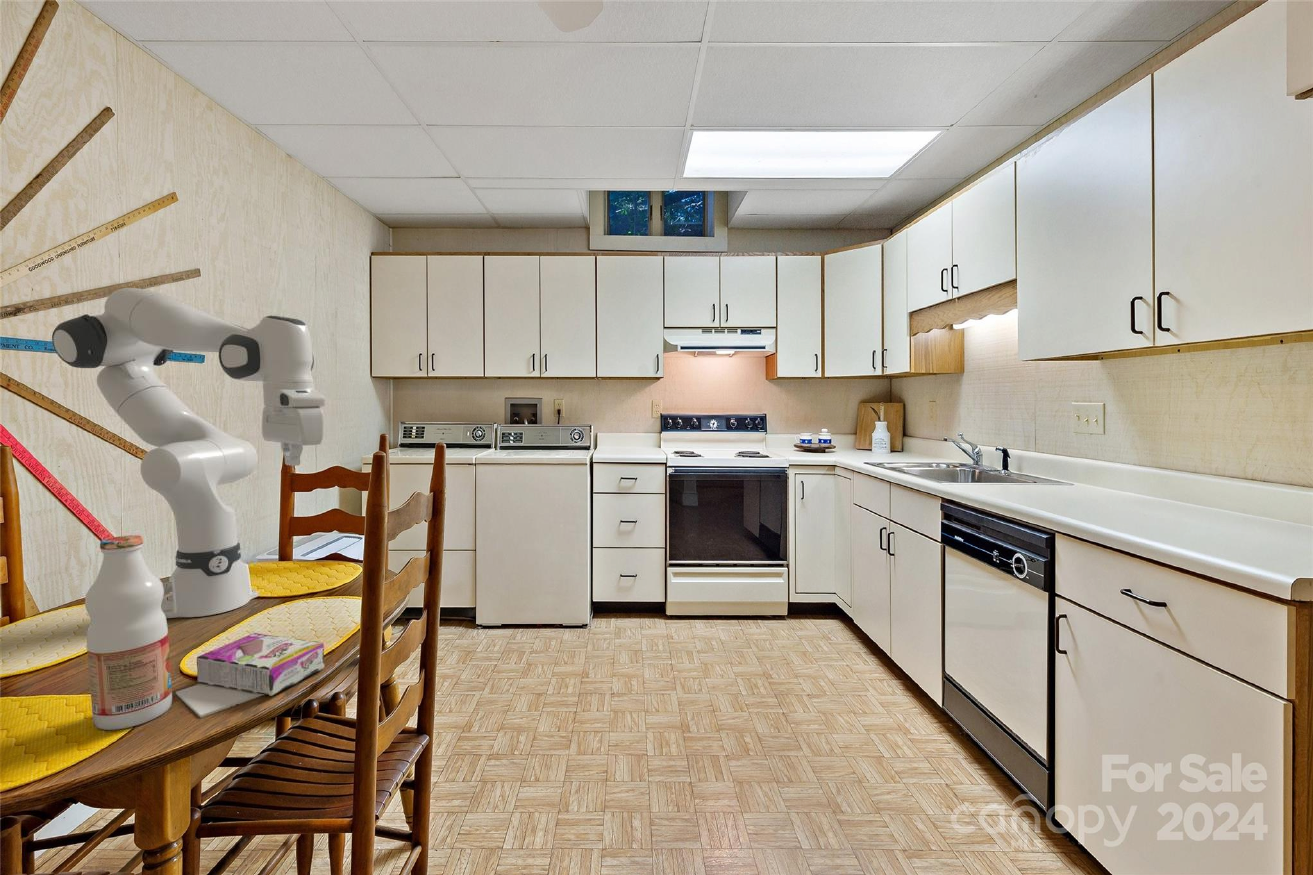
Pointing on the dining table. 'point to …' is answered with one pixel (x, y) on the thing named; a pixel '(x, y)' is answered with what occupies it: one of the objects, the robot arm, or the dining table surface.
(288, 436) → the robot arm
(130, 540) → the fruit juice
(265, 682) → the candy bar box
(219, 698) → the mat
